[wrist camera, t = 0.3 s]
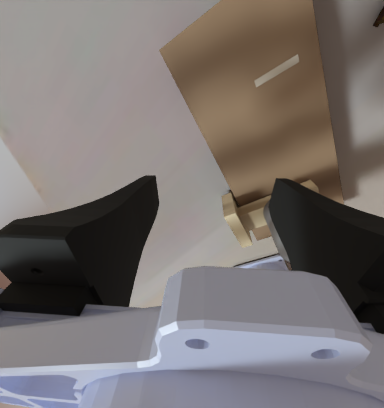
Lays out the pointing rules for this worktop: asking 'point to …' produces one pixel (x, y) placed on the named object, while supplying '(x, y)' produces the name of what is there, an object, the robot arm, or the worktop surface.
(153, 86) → the worktop surface
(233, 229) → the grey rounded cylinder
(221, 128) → the board
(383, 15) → the dark notched rod
